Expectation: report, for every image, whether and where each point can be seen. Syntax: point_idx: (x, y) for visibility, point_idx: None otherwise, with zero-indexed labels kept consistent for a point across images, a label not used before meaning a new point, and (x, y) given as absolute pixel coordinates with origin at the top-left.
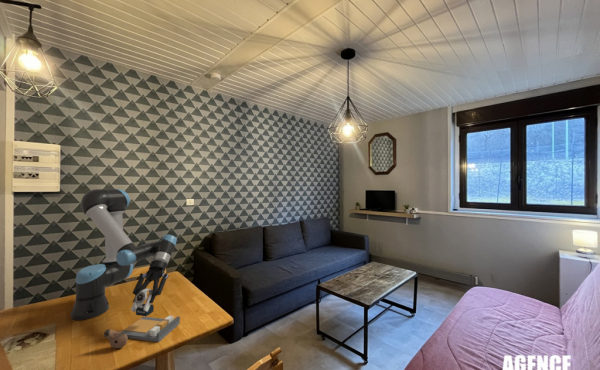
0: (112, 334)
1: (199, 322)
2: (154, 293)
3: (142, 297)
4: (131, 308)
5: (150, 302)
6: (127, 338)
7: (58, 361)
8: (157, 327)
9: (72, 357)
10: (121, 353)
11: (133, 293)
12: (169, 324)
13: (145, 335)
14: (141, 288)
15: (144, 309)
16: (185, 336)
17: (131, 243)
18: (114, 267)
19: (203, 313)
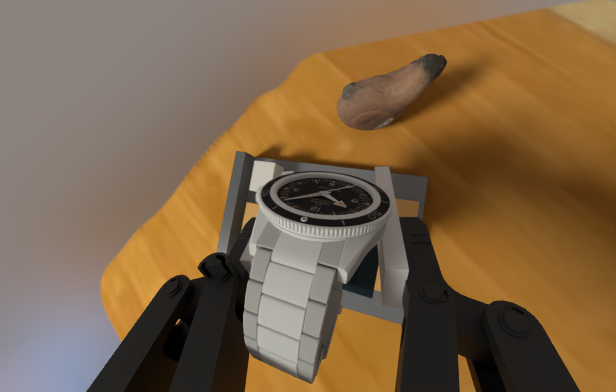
0: (394, 73)
1: (171, 274)
2: (209, 276)
3: (295, 190)
4: (388, 170)
5: None
6: (338, 115)
7: (552, 21)
8: (256, 184)
9: (512, 48)
10: (337, 95)
11: (500, 302)
12: (227, 215)
13: (301, 170)
14: (412, 386)
15: (287, 172)
16: (188, 192)
17: None
18: None
19: None
